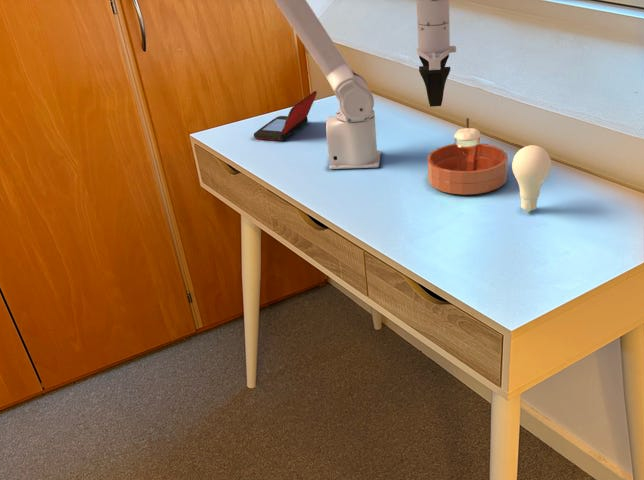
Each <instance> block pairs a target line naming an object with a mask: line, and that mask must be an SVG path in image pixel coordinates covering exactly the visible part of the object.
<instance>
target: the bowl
mask: <svg viewBox="0 0 644 480" xmlns="http://www.w3.org/2000/svg"><path fill="white" fill-rule="evenodd" d="M508 165H509V156H508V153H507V152H506V151H505V150H504V149H503V148H500V147H498V146H496V145H492V144H487V143H481V142H480V144H479V151H478V160H477V171H458V169H457V156H456V147H455V143H452V144H447V145H443V146H440V147H436V149H434V150H432V151H431V152H429V154H428V155H427V182H428V184H429V186H431V187H432V188H434V189H435V190H438V191H440V192H444V193H446V194H447V193H448V194H453V195H460V196H461V195H462V196H463V195H464V196H469V195H471V196H472V195H479V194H484V193H489V192H492V191H494V190H497V189H499V188H501V187H502V186H504V185H505V184H506V182H507V180H508V169H509V168H508V167H509V166H508Z"/></svg>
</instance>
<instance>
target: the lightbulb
mask: <svg viewBox="0 0 644 480" xmlns="http://www.w3.org/2000/svg"><path fill="white" fill-rule="evenodd" d="M511 162H512V163H511V168H512V169H511V170H512V173H513V175H514V177H515V179H516V182H517V184H518V188H519V196H520V201H521V202H520V206H521V209H522V210H523V211H525V212H528V213H531V212H532V211H534V210H536V208H537V205H538V200H539V199H538V198H539V197H540V191H541V188H542V186H543V184H544V182H545V180H546V179H547V177H548V175H549V174H550V171H551V168H552V159H551V157H550V155H549V153H548V151H546V150H545V148H543V147H542V146H539V145H535V144H531V145H530V144H529V145H525V146H523V147H522V148H520V149H519V150H518V151H517V152H516V154H514V156H513V159H512V161H511Z"/></svg>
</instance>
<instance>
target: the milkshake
mask: <svg viewBox="0 0 644 480" xmlns="http://www.w3.org/2000/svg"><path fill="white" fill-rule="evenodd" d="M465 123H466V124H465V126H466V127H464V128H460V129H458V130H457V131H456V132H455V133H454V144H455V147H456V156H457V169H458V171H477V160H478V151H479V144H480V143H481V131H479V129H477V128H474V127H470V118H469V117H466V120H465Z"/></svg>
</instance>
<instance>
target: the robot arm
mask: <svg viewBox="0 0 644 480" xmlns="http://www.w3.org/2000/svg"><path fill="white" fill-rule="evenodd" d="M273 2H274V3H275V4H276V6H277V8H278V9H279V10H280V12H281V13H282V15H283V16H284V18H285V19H286V21H287V22H288V23H289V25H290V27H291V28H292V30H293V31H294V33H295V34H296V36H297V37H298V38H299V40H300V41H301V43H302V44H303V46H304V47H305V49H306V51H307V52H308V53H309V54H310V56H311V57H312V59H313V61H314V62H315V63H316V65H317V66H318V68H319V69H320V71H321V72H322V73H323V75H324V77H325V78H326V80H327V81H328V83H329V85H330V87H331V89H332V90H333V92H334V94H335V97H336V99H337V101H338V103H339V105H338V106H339V107H338V109H337V111H336V113H335V115H333V116H327V117H326V121H325V134H326V145H327V154H328V161H329V162H328V163H329V169H330V170H345V169H347V170H348V169H369V168H370V169H371V168H373V169H375V168H379V167H380V161H381V150H378V144H377V131H376V128H377V127H376V115H375V114H376V113H375V110H374V106H375V98H374V96H373V94H372V92H371V91H370V89H369V85H368V84H367V81H366V79H365V78H364V77H363V76H361V75H360V74H359V73H357V72H355V71H354V70H353V69H352V68H351V66H350V65H349V63H348V62H347V60H346V59H345V57H344V56H343V55H342V53H341V51H340V50H339V49H338V47H337V45H336V44H335V42H334V41H333V40H332V38H331V36H330V35H329V33H328V32H327V30H326V29H325V27H324V25H323V24H322V22H321V21H320V19H319V18H318V17H317V15H316V12H315V11H314V10H313V9H312V6H310V4H309V3H308V1H307V0H273ZM416 20H417V45H418V46H417V49H416V51H417V55H418V57H419V60H420V62H421V64H422V65H421V66H418V72H419V75H420V76H421V78H422V80H423V83H424V86H425V90H426V96H427V100H428V104H429V107H441V106H442V105H443V99H444V93H445V87H446V82H447V79H448V77H449V75H450V72H451V66H446V65H447V63H448V60H449V58H450V54H451V53H456V52H457V46H456V45H451V44H450V43H451V41H450V37H451V36H450V35H451V34H450V32H451V31H450V29H451V28H450V0H416Z"/></svg>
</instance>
